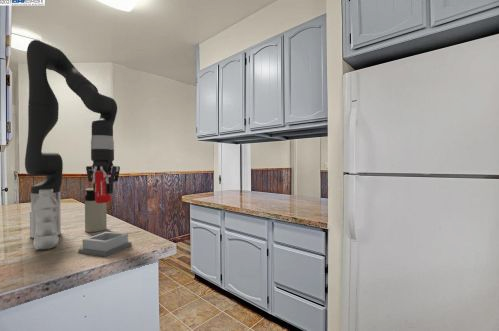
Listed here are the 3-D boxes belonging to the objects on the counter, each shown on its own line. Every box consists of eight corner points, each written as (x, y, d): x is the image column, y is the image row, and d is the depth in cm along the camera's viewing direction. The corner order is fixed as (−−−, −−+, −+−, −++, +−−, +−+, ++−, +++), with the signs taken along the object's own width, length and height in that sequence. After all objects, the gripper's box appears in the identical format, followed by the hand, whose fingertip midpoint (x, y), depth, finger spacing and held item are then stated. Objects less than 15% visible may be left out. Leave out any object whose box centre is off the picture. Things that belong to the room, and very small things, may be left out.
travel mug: (102, 232, 107) (102, 189, 106) (81, 233, 105) (81, 189, 105) (109, 227, 114) (108, 187, 114) (89, 228, 113) (89, 187, 113)
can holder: (78, 252, 82) (78, 239, 82) (106, 242, 93) (106, 231, 92) (105, 256, 79) (105, 242, 79) (131, 245, 89) (131, 233, 89)
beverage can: (103, 203, 93) (103, 170, 93) (91, 203, 94) (91, 170, 94) (114, 201, 98) (113, 170, 98) (102, 201, 99) (102, 170, 99)
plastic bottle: (37, 247, 88) (37, 189, 87) (61, 244, 90) (60, 188, 90) (30, 253, 82) (29, 191, 81) (55, 250, 84) (55, 190, 84)
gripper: (78, 148, 94) (79, 194, 94) (110, 147, 90) (110, 195, 90) (96, 149, 101) (96, 191, 101) (125, 148, 97) (126, 192, 97)
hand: (103, 193), depth 96 cm, fingers closed on beverage can, 5 cm apart
